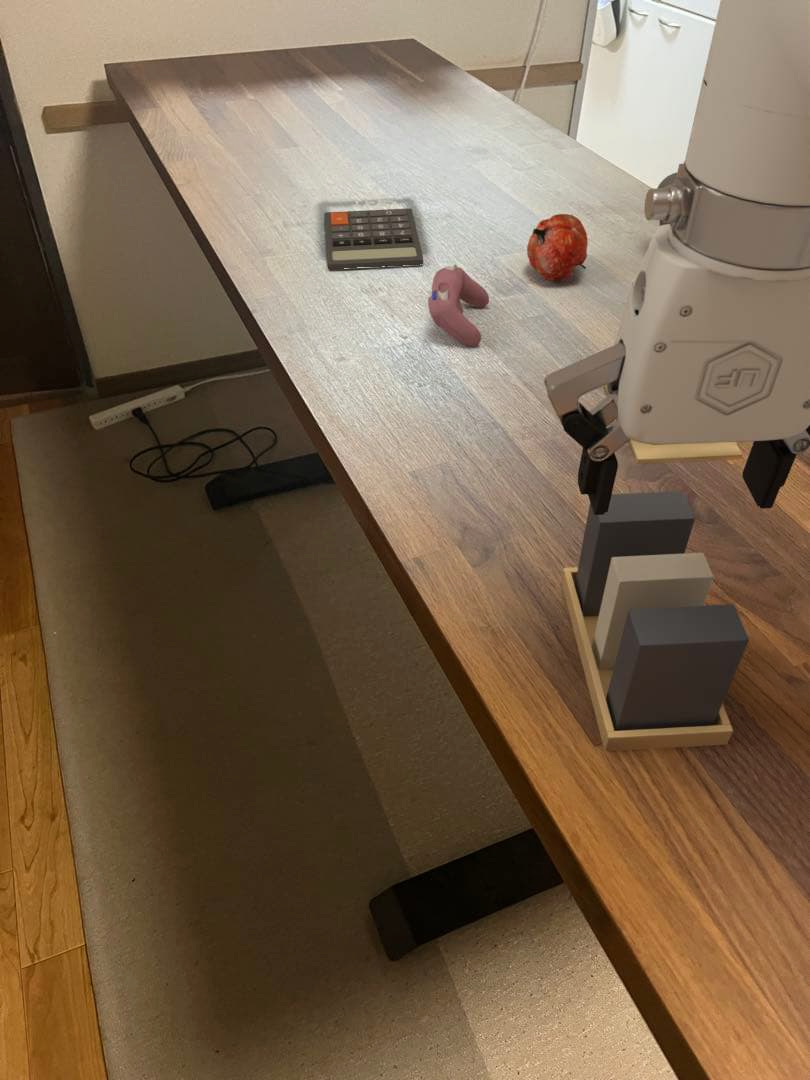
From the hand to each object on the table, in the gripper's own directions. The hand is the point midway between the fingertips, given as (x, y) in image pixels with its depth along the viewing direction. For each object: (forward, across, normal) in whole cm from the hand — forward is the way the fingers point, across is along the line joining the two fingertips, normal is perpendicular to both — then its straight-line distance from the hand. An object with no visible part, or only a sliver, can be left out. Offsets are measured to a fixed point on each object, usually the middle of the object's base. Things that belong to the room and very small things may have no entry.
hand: (675, 495), depth 51 cm
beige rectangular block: (+15, 0, 0) cm, 15 cm away
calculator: (+16, -16, +68) cm, 72 cm away
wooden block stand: (+16, +10, +29) cm, 35 cm away
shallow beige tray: (+15, 0, 0) cm, 15 cm away
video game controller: (+16, -7, +46) cm, 50 cm away
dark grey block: (+15, 0, -6) cm, 16 cm away
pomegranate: (+16, +6, +57) cm, 60 cm away
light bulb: (+16, +20, +61) cm, 66 cm away
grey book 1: (+15, 0, +5) cm, 15 cm away
